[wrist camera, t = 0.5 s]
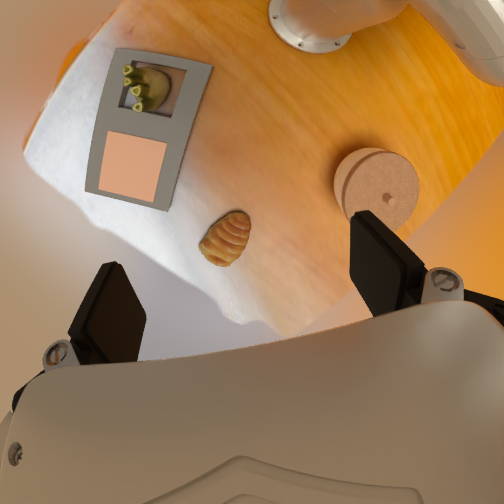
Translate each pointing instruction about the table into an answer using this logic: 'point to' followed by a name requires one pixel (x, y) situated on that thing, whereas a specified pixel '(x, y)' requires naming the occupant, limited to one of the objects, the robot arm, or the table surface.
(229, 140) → the table surface
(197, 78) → the holder board
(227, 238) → the pastry
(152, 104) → the fennel bulb
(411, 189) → the lidded bowl
